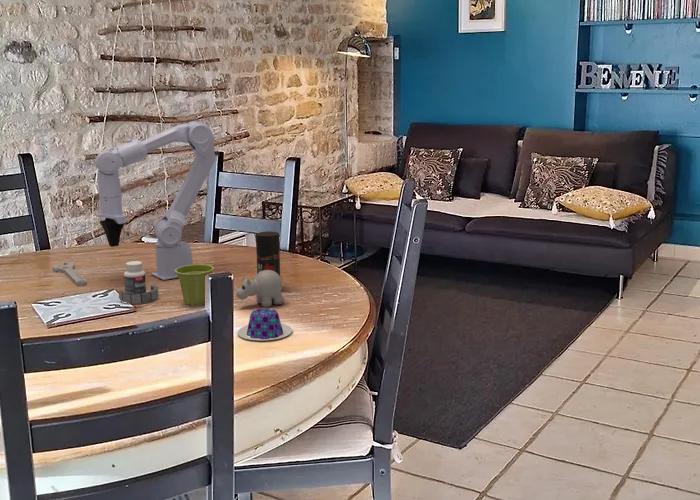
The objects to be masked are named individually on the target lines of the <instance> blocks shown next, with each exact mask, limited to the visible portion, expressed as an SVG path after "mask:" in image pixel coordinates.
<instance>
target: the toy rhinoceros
mask: <svg viewBox="0 0 700 500" xmlns="http://www.w3.org/2000/svg"><path fill="white" fill-rule="evenodd" d="M238 287H239V286H238V285H236V286H235V288H234V289H235V290H234V292H235V293H236V297H237V298H238V299H239V300H243V301H244V300H245V299H247V298H248V297H252V296H254V295H256V302H257V303H259V304H261V306H262V307H263V308H264V307H265V308H266V307H267V308H269V307H271V306H272V305H273V304H274V305H276V306H277V305H281V304H283V303H284V302H285V301H284V300H285V299H284V296H283V294H282V289H283V278H282V277H281V275H280V276H279V275H278V274H277V273H276V272H274V271H272V270H264V271H261V272H259V273H258V274H256V275H255V277H254V278H253V279H251V278H247V277H246V276H245V275H244V276H243V281H242V282H241V286H240V287H239V288H238Z"/></svg>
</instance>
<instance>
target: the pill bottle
mask: <svg viewBox="0 0 700 500" xmlns="http://www.w3.org/2000/svg"><path fill="white" fill-rule="evenodd" d="M125 268H126V271H125V272H124V273H123V282H124V284H123V285H124V292H125V293H144V292H147V284H146V283H147V281H146V272H145V270H143V262H142V261H140V260H139V261H138V260H137V261H136V260H134V261H133V260H132V261H128V262H125Z"/></svg>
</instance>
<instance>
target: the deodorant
mask: <svg viewBox="0 0 700 500" xmlns="http://www.w3.org/2000/svg"><path fill="white" fill-rule="evenodd" d="M255 247H256V248H255V250H256V271H257V274H258V273H259V272H261V271H264V270H272V271H274V272H276V273H277V274H278V275H279V276H280V277H281V260H280V259H281V258H280V254H281V253H280V233H279V232H276V231H268V230H267V231H260V232H257V233H255ZM257 274H256V275H257Z"/></svg>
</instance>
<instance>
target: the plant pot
mask: <svg viewBox="0 0 700 500" xmlns="http://www.w3.org/2000/svg"><path fill="white" fill-rule="evenodd" d="M214 268H215V267H214V266H212V265H210V264H203V263H199V264H192V265H186V266H182V267H179V268H177V269H175V272H176V273H177V275H178V278H177V279H178V280H179V284H180V290H181V295H182V299H183V303H184V304H185V305H187V306H189V305H192V306H202V305H205V304H204V303H205V276H206V275H207V274H210V273H212V274H213V271H214Z"/></svg>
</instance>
